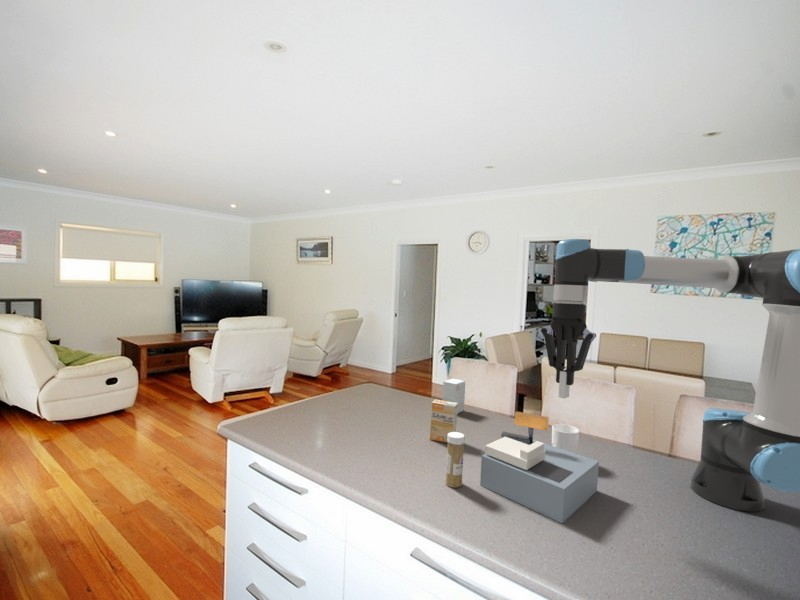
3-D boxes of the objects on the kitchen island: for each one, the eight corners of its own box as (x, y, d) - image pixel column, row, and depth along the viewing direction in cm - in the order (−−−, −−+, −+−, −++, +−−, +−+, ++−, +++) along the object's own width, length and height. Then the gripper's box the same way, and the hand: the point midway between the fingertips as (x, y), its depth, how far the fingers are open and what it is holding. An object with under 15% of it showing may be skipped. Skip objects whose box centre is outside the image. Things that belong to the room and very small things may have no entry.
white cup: (580, 467, 118) (582, 434, 117) (552, 463, 119) (554, 431, 119) (573, 456, 125) (575, 425, 125) (548, 453, 127) (549, 422, 126)
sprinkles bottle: (460, 489, 101) (463, 438, 101) (443, 486, 103) (446, 436, 102) (463, 481, 106) (465, 432, 105) (446, 478, 107) (449, 430, 107)
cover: (545, 458, 103) (545, 443, 103) (526, 470, 96) (527, 453, 96) (504, 444, 111) (505, 429, 111) (484, 453, 104) (485, 438, 104)
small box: (451, 407, 170) (453, 378, 170) (464, 410, 166) (465, 380, 166) (441, 411, 164) (443, 381, 163) (454, 415, 160) (456, 384, 159)
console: (596, 490, 104) (598, 459, 104) (562, 523, 88) (564, 487, 88) (521, 461, 120) (522, 434, 119) (480, 485, 104) (481, 454, 104)
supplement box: (429, 440, 133) (430, 402, 133) (433, 435, 138) (435, 398, 137) (452, 444, 130) (454, 406, 130) (456, 439, 135) (458, 402, 134)
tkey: (546, 447, 109) (547, 419, 109) (501, 438, 115) (502, 411, 114) (547, 444, 111) (548, 417, 111) (502, 435, 117) (504, 409, 116)
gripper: (603, 304, 94) (596, 400, 95) (550, 301, 104) (545, 388, 105) (591, 304, 89) (585, 406, 90) (537, 301, 98) (532, 393, 99)
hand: (563, 396), depth 97 cm, fingers closed
